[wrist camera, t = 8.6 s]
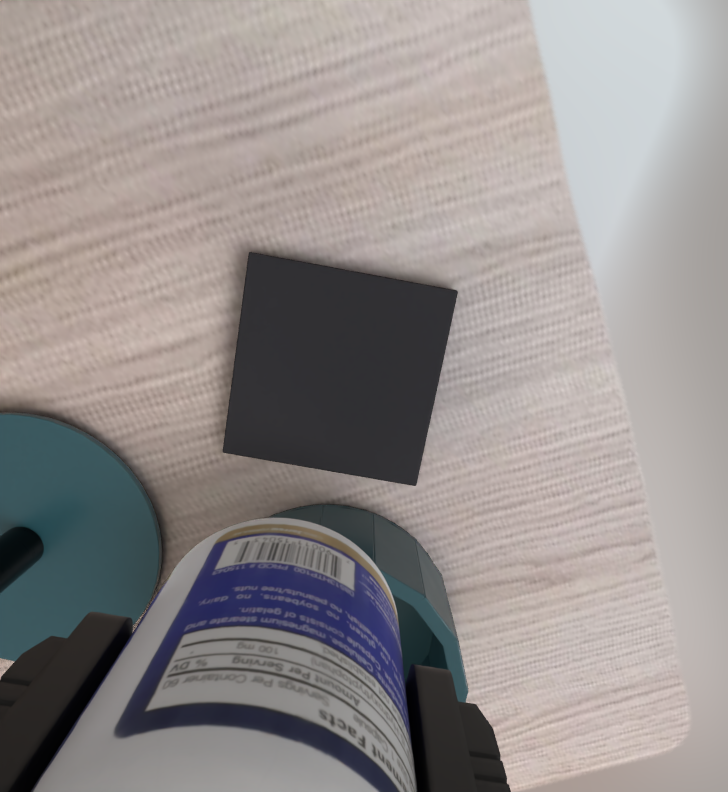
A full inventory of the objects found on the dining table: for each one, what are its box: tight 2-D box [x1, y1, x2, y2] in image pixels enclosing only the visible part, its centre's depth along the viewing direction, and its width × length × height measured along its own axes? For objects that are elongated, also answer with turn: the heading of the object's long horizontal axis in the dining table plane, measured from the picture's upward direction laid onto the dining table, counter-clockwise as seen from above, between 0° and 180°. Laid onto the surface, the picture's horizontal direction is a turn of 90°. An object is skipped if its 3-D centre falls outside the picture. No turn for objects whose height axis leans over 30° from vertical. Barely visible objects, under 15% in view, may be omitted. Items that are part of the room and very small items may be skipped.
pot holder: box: [223, 252, 458, 486], centre depth 29 cm, size 11×11×1 cm
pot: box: [269, 505, 468, 702], centre depth 30 cm, size 15×15×6 cm
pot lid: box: [0, 412, 162, 661], centre depth 29 cm, size 16×16×6 cm
